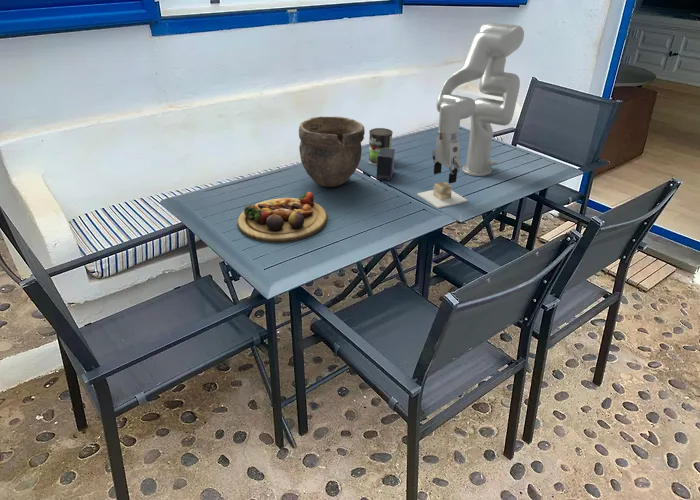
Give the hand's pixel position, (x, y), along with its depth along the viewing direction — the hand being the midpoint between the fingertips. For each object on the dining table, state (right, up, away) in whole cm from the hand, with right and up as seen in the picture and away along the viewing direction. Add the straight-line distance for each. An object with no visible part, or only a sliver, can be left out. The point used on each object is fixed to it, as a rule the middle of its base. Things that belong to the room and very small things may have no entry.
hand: (444, 177), depth 211 cm
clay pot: (-44, 0, +16) cm, 47 cm away
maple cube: (0, -7, +3) cm, 8 cm away
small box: (-21, +4, +24) cm, 32 cm away
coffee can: (-23, +12, +37) cm, 46 cm away
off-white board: (0, -7, +4) cm, 8 cm away
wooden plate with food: (-61, -18, -13) cm, 65 cm away
